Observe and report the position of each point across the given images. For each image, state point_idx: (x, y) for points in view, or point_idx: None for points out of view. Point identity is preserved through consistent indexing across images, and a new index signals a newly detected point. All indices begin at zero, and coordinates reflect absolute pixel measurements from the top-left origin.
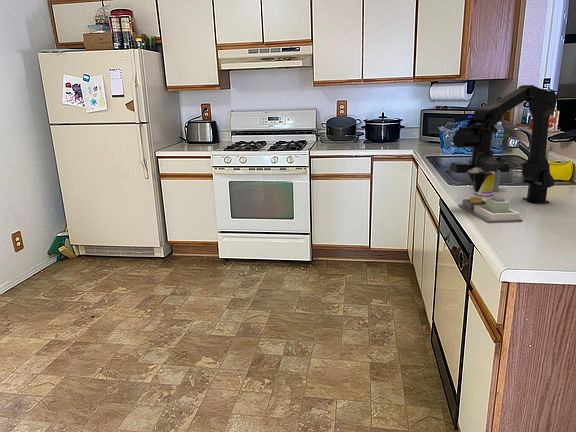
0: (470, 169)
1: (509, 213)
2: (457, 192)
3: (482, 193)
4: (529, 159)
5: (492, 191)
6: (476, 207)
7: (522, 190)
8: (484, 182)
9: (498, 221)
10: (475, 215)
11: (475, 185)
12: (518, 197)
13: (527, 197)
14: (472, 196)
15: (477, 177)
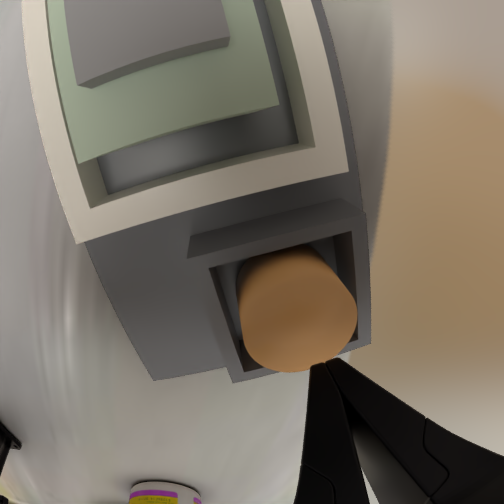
0: None
1: None
2: (264, 496)
3: (172, 490)
4: None
5: (130, 498)
6: (337, 126)
7: (49, 498)
8: None
9: None
10: (334, 69)
11: (400, 400)
12: (40, 460)
13: (2, 440)
14: (318, 361)
15: (471, 490)
